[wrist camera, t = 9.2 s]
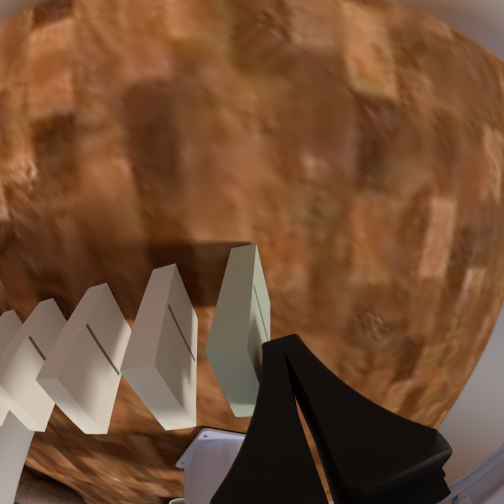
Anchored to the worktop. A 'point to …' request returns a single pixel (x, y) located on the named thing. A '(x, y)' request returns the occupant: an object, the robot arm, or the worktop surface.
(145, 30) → the worktop surface
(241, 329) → the domino
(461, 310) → the worktop surface
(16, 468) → the travel mug
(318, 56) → the worktop surface
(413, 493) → the robot arm
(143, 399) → the domino
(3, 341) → the domino
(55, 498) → the cooking pot
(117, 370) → the domino
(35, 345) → the domino
